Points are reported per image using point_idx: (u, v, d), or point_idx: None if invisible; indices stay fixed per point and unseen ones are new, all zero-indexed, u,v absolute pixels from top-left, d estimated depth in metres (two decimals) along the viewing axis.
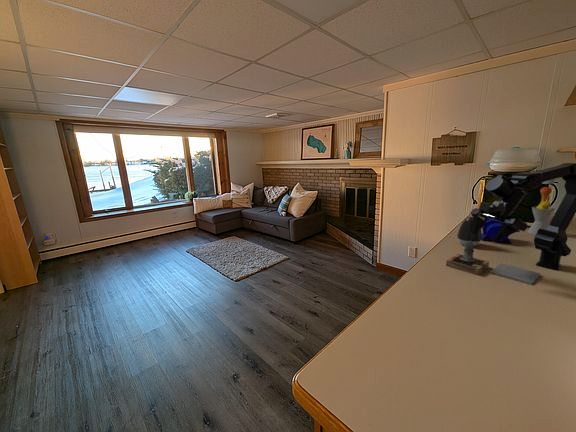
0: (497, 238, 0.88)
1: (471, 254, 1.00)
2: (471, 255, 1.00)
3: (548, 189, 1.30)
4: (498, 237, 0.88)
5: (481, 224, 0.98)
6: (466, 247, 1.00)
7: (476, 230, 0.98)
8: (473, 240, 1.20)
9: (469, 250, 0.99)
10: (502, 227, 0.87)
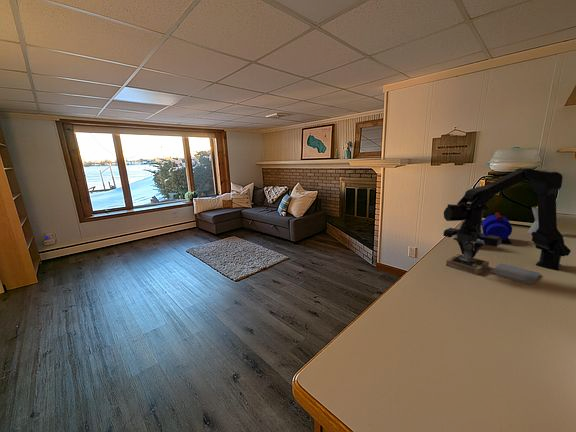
0: (475, 254, 0.99)
1: (471, 254, 1.00)
2: (471, 255, 1.00)
3: None
4: (475, 253, 0.98)
5: (464, 242, 1.02)
6: (466, 247, 1.00)
7: None
8: (473, 240, 1.20)
9: (469, 250, 0.99)
10: (476, 246, 0.97)
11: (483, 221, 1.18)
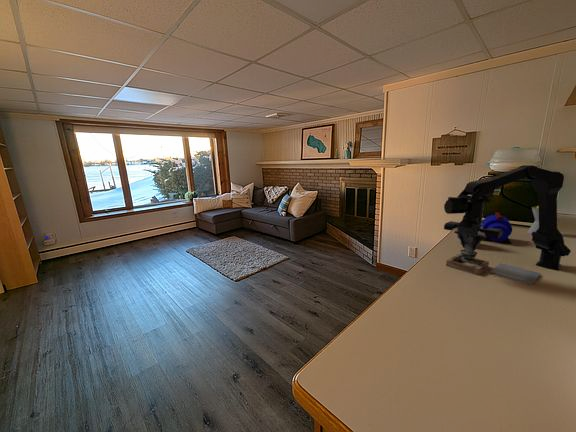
0: (476, 247, 0.98)
1: (472, 247, 0.99)
2: (472, 248, 0.99)
3: None
4: (476, 246, 0.98)
5: (465, 235, 1.02)
6: (467, 240, 0.99)
7: None
8: None
9: (470, 243, 0.99)
10: (477, 239, 0.96)
11: (483, 221, 1.18)
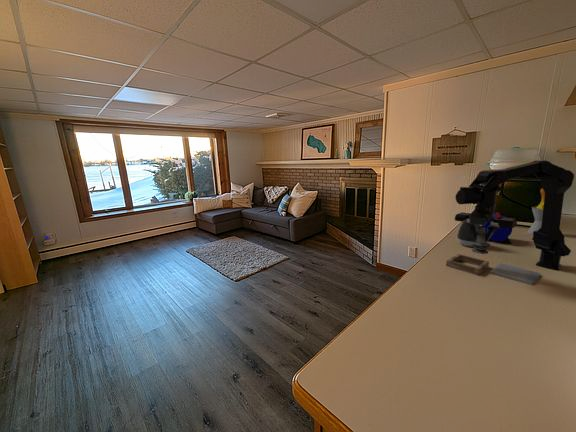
0: (489, 238, 0.95)
1: (484, 238, 0.96)
2: (484, 240, 0.96)
3: None
4: (489, 237, 0.95)
5: (477, 226, 0.99)
6: (479, 231, 0.97)
7: None
8: (473, 240, 1.20)
9: (482, 234, 0.96)
10: (490, 229, 0.93)
11: None
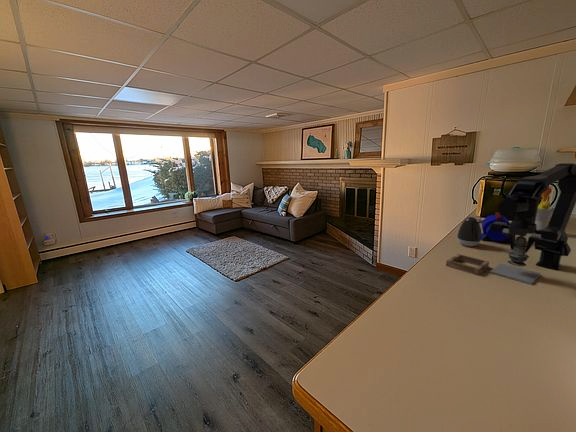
0: None
1: (523, 250, 0.90)
2: (523, 251, 0.90)
3: (548, 189, 1.30)
4: (528, 248, 0.89)
5: (514, 237, 0.93)
6: (517, 242, 0.91)
7: None
8: (473, 240, 1.20)
9: (521, 245, 0.90)
10: (530, 240, 0.87)
11: (483, 221, 1.18)
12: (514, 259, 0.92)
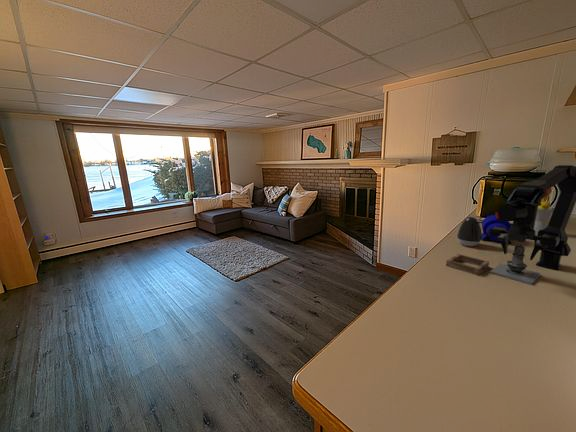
0: (533, 257, 0.89)
1: (521, 259, 0.91)
2: (521, 260, 0.91)
3: (548, 189, 1.30)
4: (534, 256, 0.88)
5: (507, 241, 0.95)
6: (516, 251, 0.92)
7: (506, 249, 0.95)
8: (473, 240, 1.20)
9: (519, 254, 0.91)
10: (536, 248, 0.86)
11: (483, 221, 1.18)
12: (512, 268, 0.92)
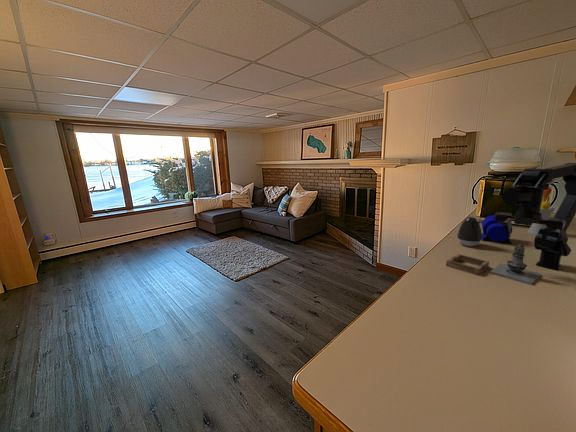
0: (543, 241, 0.89)
1: (521, 259, 0.91)
2: (521, 260, 0.91)
3: (548, 189, 1.30)
4: (544, 240, 0.88)
5: (510, 226, 0.97)
6: (515, 251, 0.92)
7: (510, 234, 0.97)
8: (473, 240, 1.20)
9: (519, 254, 0.91)
10: (545, 231, 0.87)
11: (483, 221, 1.18)
12: (512, 268, 0.92)
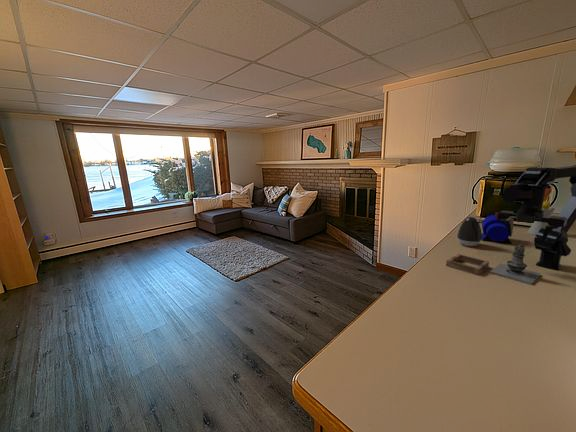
0: (544, 239, 0.90)
1: (521, 259, 0.91)
2: (521, 260, 0.91)
3: (548, 189, 1.30)
4: (545, 237, 0.90)
5: (512, 224, 0.98)
6: (515, 251, 0.92)
7: (511, 232, 0.98)
8: (473, 240, 1.20)
9: (519, 254, 0.91)
10: (547, 229, 0.88)
11: (483, 221, 1.18)
12: (512, 268, 0.92)
